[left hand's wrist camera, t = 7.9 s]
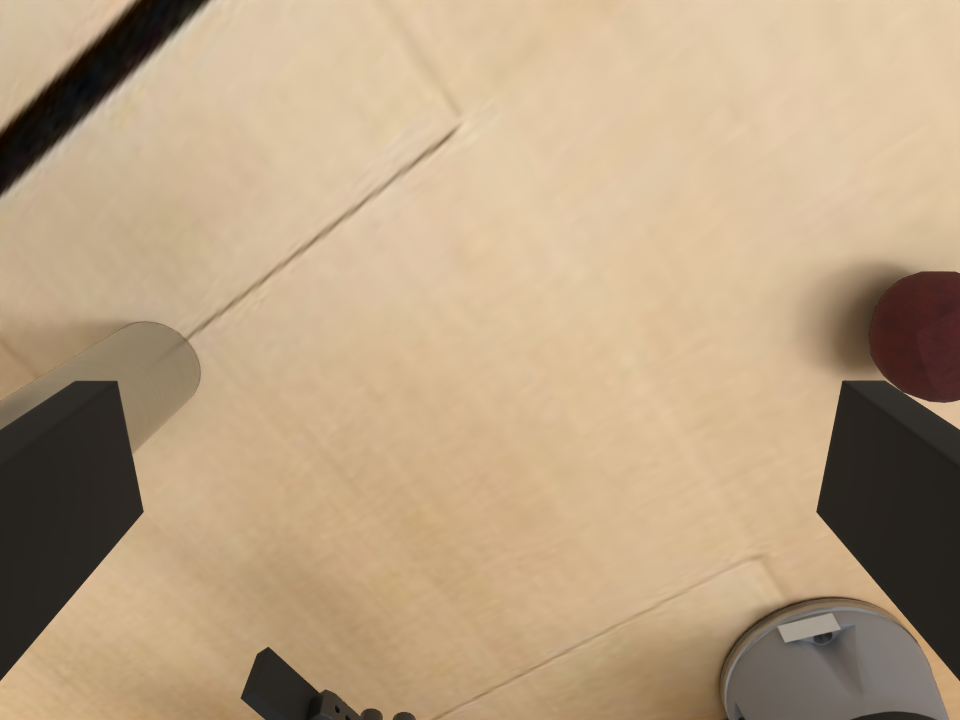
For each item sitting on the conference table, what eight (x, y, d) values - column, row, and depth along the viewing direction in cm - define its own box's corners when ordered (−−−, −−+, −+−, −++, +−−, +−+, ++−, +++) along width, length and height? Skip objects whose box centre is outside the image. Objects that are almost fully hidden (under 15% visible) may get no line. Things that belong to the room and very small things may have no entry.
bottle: (188, 421, 45) (-91, 714, 23) (97, 389, 45) (-281, 661, 22) (211, 342, 43) (-70, 579, 21) (117, 307, 43) (-276, 515, 20)
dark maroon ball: (873, 394, 44) (941, 443, 38) (825, 299, 42) (889, 333, 36) (980, 335, 43) (1071, 375, 36) (937, 234, 41) (1026, 257, 34)
